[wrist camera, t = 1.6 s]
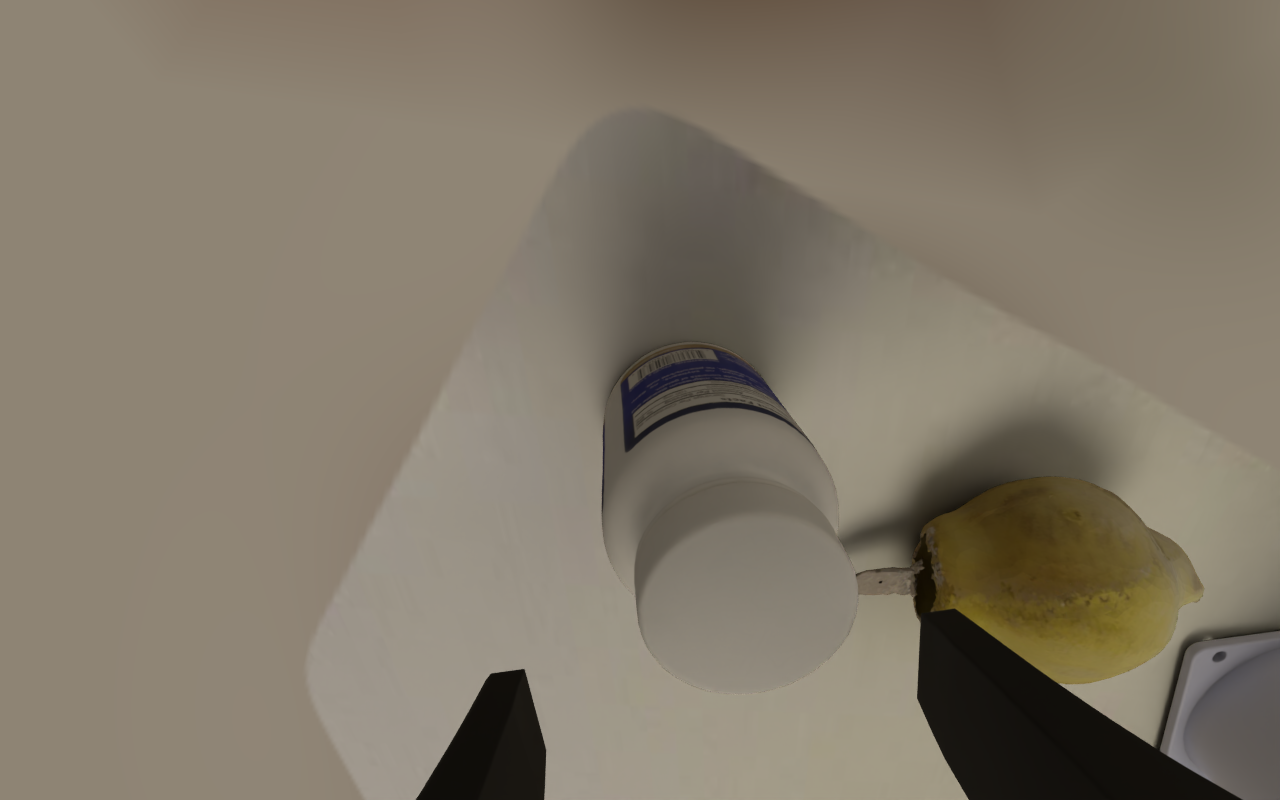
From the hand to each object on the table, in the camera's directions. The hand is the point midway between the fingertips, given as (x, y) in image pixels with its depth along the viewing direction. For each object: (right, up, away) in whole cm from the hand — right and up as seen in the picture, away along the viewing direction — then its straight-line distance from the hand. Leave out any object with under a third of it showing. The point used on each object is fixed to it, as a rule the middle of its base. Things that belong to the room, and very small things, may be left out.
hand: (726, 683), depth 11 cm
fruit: (+10, 0, +10) cm, 14 cm away
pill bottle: (0, +5, +8) cm, 9 cm away
